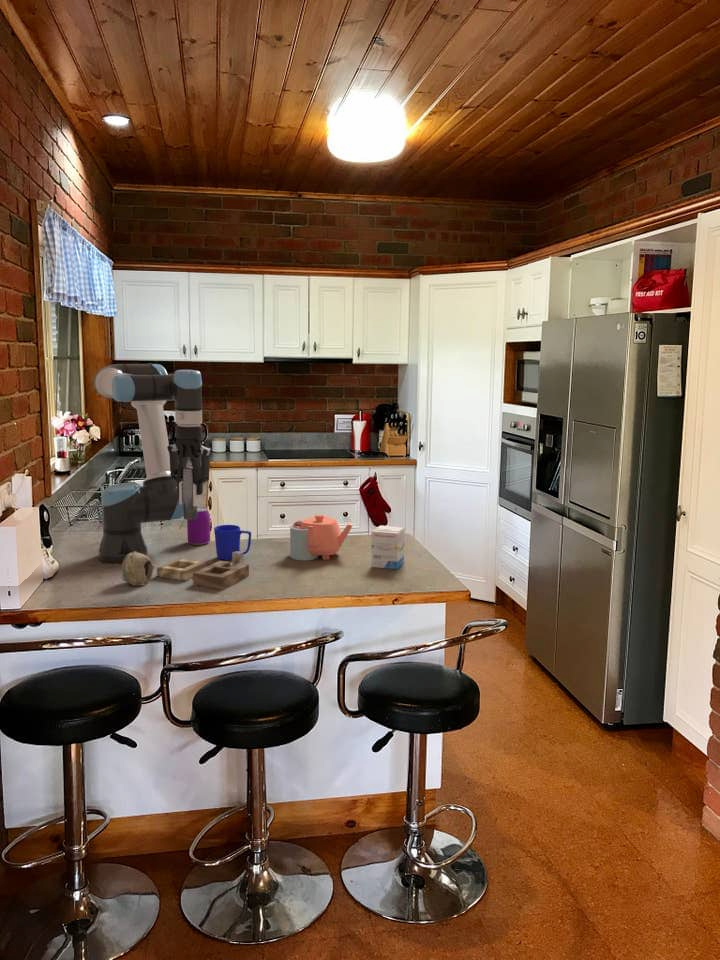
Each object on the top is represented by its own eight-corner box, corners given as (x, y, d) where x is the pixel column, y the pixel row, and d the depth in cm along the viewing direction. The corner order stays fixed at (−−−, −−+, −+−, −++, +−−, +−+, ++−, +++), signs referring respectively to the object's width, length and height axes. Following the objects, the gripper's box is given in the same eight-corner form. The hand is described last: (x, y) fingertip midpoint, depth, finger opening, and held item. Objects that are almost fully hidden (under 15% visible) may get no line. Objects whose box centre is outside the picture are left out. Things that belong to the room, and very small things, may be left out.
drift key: (236, 570, 233) (236, 550, 232) (243, 571, 232) (243, 551, 231) (222, 577, 226) (221, 557, 225) (229, 578, 225) (229, 558, 224)
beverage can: (208, 539, 269) (208, 505, 267) (211, 544, 262) (211, 510, 260) (186, 540, 267) (185, 507, 265) (189, 546, 260) (188, 511, 257)
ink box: (404, 562, 244) (405, 526, 242) (397, 570, 236) (398, 533, 234) (378, 560, 247) (379, 524, 245) (370, 567, 239) (371, 530, 237)
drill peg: (180, 518, 223) (179, 468, 220) (188, 515, 227) (187, 465, 224) (192, 520, 222) (191, 469, 219) (200, 517, 226) (199, 467, 222)
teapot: (353, 557, 249) (354, 516, 246) (309, 565, 239) (309, 523, 237) (326, 546, 262) (326, 507, 259) (283, 554, 252) (283, 514, 250)
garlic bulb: (128, 595, 217) (116, 566, 212) (124, 582, 224) (113, 553, 220) (160, 582, 219) (149, 553, 215) (156, 569, 227) (144, 541, 222)
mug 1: (246, 563, 241) (246, 532, 239) (210, 560, 244) (210, 529, 242) (255, 556, 249) (255, 526, 247) (220, 553, 251) (219, 524, 250)
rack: (157, 576, 226) (156, 567, 226) (177, 567, 235) (177, 558, 235) (185, 581, 222) (185, 571, 222) (205, 571, 232) (204, 562, 231)
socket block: (220, 571, 232) (219, 560, 231) (248, 575, 228) (248, 564, 228) (193, 584, 219) (193, 573, 219) (223, 589, 215) (223, 577, 215)
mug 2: (285, 558, 247) (285, 528, 245) (298, 551, 255) (298, 522, 254) (323, 563, 242) (323, 532, 240) (335, 556, 250) (336, 526, 248)
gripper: (155, 424, 218) (157, 503, 223) (207, 428, 212) (208, 510, 217) (171, 421, 225) (172, 498, 230) (221, 425, 219) (222, 504, 224)
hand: (190, 504), depth 224 cm, fingers closed on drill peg, 4 cm apart
